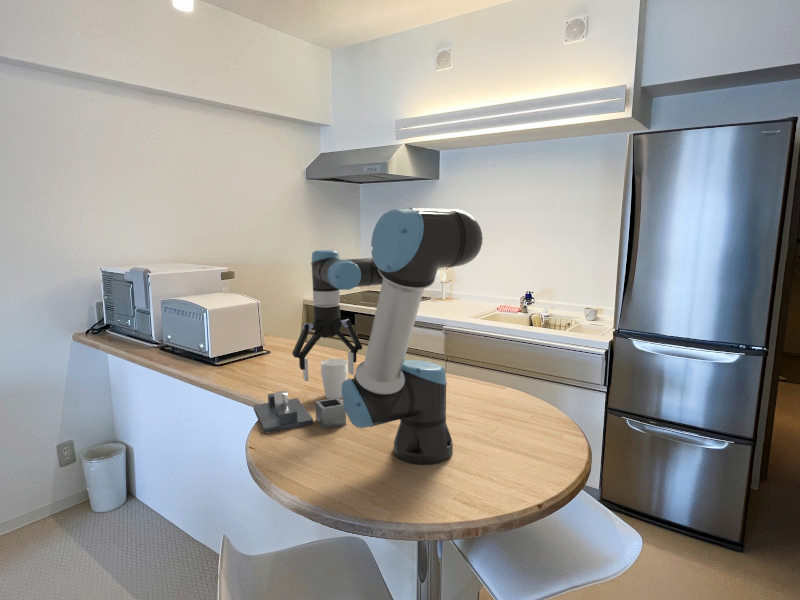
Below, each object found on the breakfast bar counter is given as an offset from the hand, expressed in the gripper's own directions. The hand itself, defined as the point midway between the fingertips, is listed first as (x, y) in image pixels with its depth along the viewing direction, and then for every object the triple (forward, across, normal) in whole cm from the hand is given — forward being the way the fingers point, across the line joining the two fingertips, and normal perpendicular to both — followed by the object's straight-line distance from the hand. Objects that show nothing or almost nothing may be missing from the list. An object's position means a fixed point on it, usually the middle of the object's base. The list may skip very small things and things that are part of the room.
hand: (328, 376), depth 141 cm
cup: (+14, -8, -21) cm, 26 cm away
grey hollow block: (+14, 0, 0) cm, 14 cm away
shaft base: (+14, +12, -11) cm, 21 cm away
